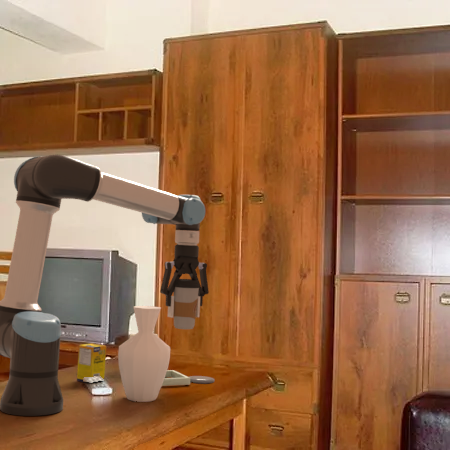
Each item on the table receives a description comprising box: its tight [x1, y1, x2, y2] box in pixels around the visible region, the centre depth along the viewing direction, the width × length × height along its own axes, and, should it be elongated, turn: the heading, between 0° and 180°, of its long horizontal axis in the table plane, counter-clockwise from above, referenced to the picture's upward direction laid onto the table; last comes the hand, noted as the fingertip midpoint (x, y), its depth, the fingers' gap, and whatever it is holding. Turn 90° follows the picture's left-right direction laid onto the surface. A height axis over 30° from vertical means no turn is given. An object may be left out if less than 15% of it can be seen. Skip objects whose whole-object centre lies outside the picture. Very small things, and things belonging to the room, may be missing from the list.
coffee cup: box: [173, 278, 200, 330], centre depth 216 cm, size 8×8×15 cm
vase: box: [117, 305, 171, 403], centre depth 191 cm, size 14×14×25 cm
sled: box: [129, 333, 191, 387], centre depth 220 cm, size 13×25×12 cm, turn 28°
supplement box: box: [76, 343, 107, 383], centre depth 210 cm, size 6×6×11 cm
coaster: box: [188, 375, 215, 385], centre depth 220 cm, size 9×9×1 cm
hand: (183, 316), depth 217 cm, fingers closed on coffee cup, 8 cm apart
